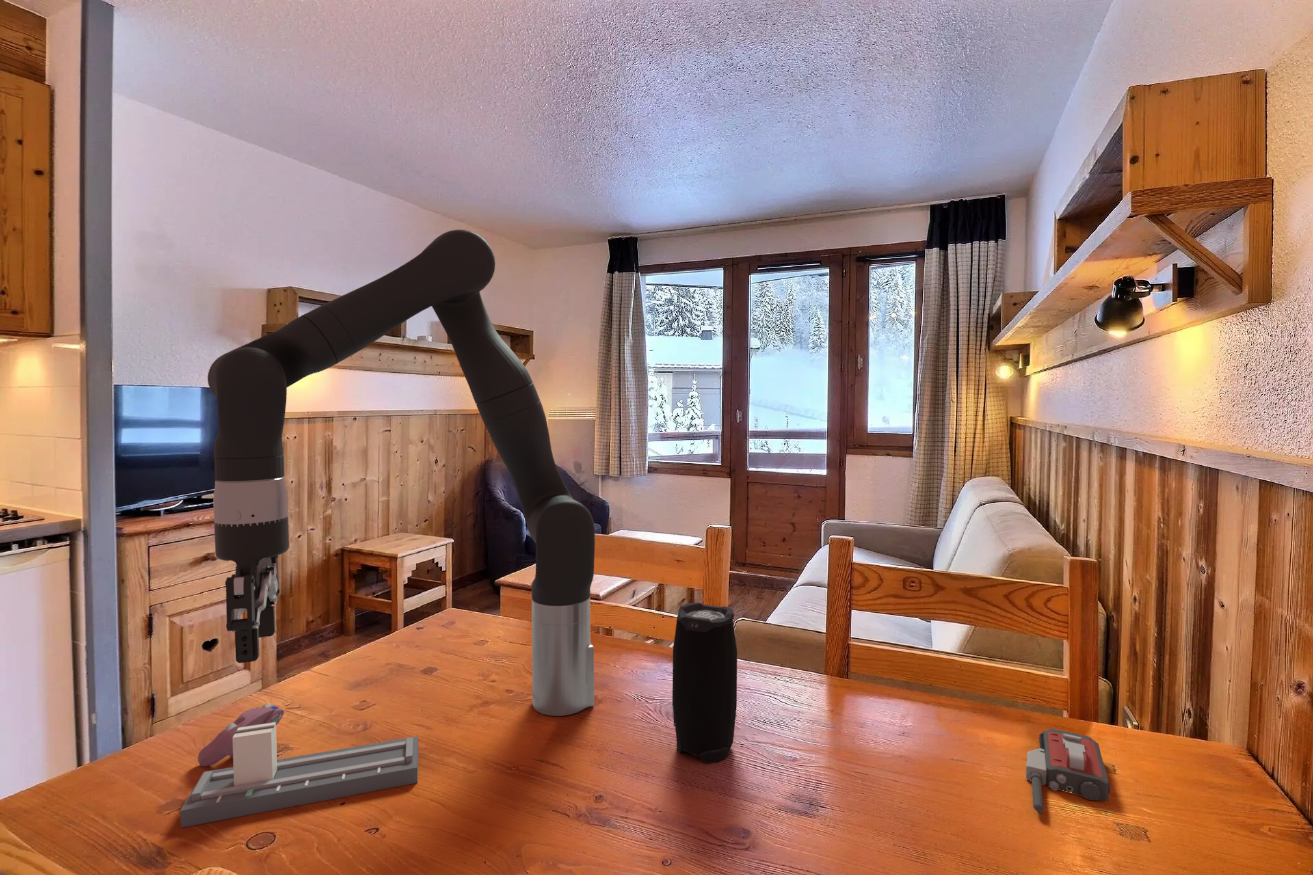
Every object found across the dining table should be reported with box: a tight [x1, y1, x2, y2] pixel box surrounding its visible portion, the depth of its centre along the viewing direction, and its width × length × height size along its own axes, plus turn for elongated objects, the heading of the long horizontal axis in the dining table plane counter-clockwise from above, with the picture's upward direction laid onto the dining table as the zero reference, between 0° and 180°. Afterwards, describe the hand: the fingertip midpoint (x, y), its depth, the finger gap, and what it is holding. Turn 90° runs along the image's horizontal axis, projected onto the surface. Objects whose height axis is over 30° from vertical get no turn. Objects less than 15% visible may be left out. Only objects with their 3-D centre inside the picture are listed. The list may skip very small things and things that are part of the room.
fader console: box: [179, 735, 419, 828], centre depth 79 cm, size 25×8×3 cm, turn 110°
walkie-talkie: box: [1025, 728, 1111, 814], centre depth 80 cm, size 9×4×20 cm
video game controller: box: [197, 702, 285, 767], centre depth 87 cm, size 10×5×7 cm, turn 168°
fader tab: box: [232, 722, 278, 787], centre depth 77 cm, size 4×2×6 cm, turn 110°
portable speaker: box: [671, 602, 738, 764], centre depth 87 cm, size 9×9×20 cm
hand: (257, 647), depth 77 cm, fingers open, 8 cm apart
